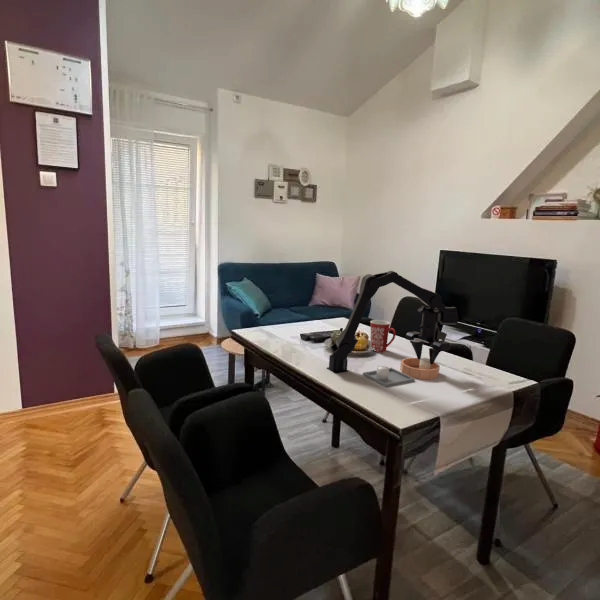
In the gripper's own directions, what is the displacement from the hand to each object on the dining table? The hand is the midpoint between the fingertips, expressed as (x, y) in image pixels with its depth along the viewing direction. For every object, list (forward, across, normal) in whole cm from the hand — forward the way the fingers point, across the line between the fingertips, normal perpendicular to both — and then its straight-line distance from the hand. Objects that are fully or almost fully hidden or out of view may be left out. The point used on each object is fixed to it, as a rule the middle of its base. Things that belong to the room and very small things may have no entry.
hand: (425, 361), depth 166 cm
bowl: (+4, 0, +3) cm, 5 cm away
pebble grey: (+4, 0, +22) cm, 22 cm away
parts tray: (+4, 0, +19) cm, 19 cm away
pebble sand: (+4, 0, 0) cm, 4 cm away
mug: (+5, +29, -2) cm, 29 cm away
